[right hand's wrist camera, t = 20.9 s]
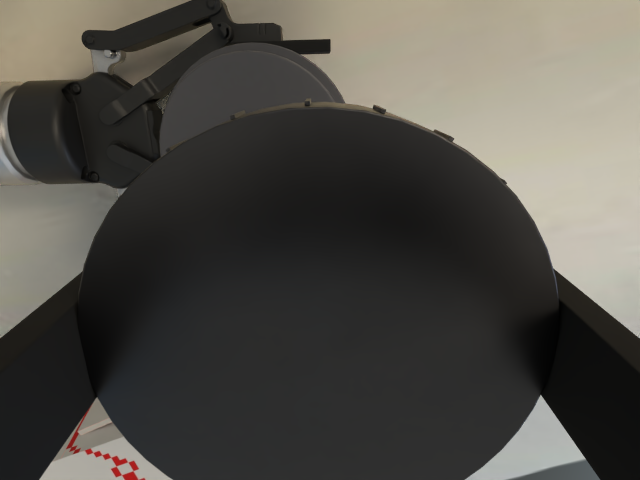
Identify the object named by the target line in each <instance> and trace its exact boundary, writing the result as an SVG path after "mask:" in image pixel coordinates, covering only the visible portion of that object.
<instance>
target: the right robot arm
mask: <svg viewBox="0 0 640 480" xmlns="http://www.w3.org/2000/svg"><path fill="white" fill-rule="evenodd" d="M553 270H554V273H555V277H556V284H557V292H558V299H559V334H558V339H557V345H556V351H555V356H554V361H553V364H552V367H551V370H550V373H549V376H548V379H547V382H546V385H545V387H544V389H543V391H542V393H541V395H542V397H543V398H544V400H545V401H546V403H547V404H548V405H549V407H550V408H551V410H552V411H553V413H554V414H555V415H556V417H557V418H558V420H559V421H560V423H561V424H562V425H563V427H564V428H565V430H566V431H567V433H568V434H569V436H570V437H571V438H572V440H573V441H574V443H575V444H576V446H577V447H578V448H579V450H580V451H581V453H582V454H583V456H584V457H585V458H586V460H587V461H588V463H589V464H590V466H591V467H592V468H593V470H594V471H595V473H596V474H597V476H598V477H599V478H600V480H640V339H639V338H638V337H637V336H636V335H635V334H633V333H632V332H631V331H630V330H628V329H627V328H626V327H625V326H623V325H622V324H621V323H620V322H619V321H617V320H616V319H615V318H614V317H612V316H611V315H610V314H609V313H607V312H606V311H605V310H604V309H603V308H601V307H600V306H599V305H598V304H596V303H595V302H594V301H593V300H591V299H590V298H589V297H588V296H587V295H585V294H584V293H583V292H582V291H580V290H579V289H578V288H577V287H575V286H574V285H573V284H572V283H571V282H569V281H568V280H567V279H566V278H564V277H563V276H562V275H561V274H559V273H558V272H557V271H556V270H555V269H553ZM82 273H83V272H81V273H80V274H79V275H78V276H77V277H75V278H74V279H73V280H72V281H70V282H69V283H68V284H67V285H65V286H64V287H63V288H62V289H61V290H59V291H58V292H57V293H56V294H54V295H53V296H52V297H51V298H49V299H48V300H47V301H46V302H45V303H43V304H42V305H41V306H40V307H38V308H37V309H36V310H35V311H33V312H32V313H31V314H30V315H29V316H27V317H26V318H25V319H24V320H22V321H21V322H20V323H19V324H17V325H16V326H15V327H14V328H13V329H11V330H10V331H9V332H8V333H6V334H5V335H4V336H3V337H1V338H0V480H39V479H40V478H41V477H42V475H43V474H44V472H45V471H46V469H47V468H48V467H49V465H50V464H51V462H52V461H53V459H54V458H55V457H56V455H57V454H58V452H59V451H60V449H61V448H62V447H63V445H64V444H65V442H66V441H67V439H68V438H69V437H70V435H71V434H72V432H73V431H74V429H75V428H76V427H77V425H78V424H79V422H80V421H81V419H82V418H83V417H84V415H85V414H86V412H87V411H88V409H89V408H90V407H91V405H92V404H93V402H94V401H95V399H96V398H97V395H96V393H95V391H94V388H93V386H92V384H91V382H90V379H89V375H88V371H87V367H86V363H85V358H84V354H83V349H82V345H81V340H80V335H79V330H78V323H77V317H78V293H79V288H80V283H81V278H82Z"/></svg>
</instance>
